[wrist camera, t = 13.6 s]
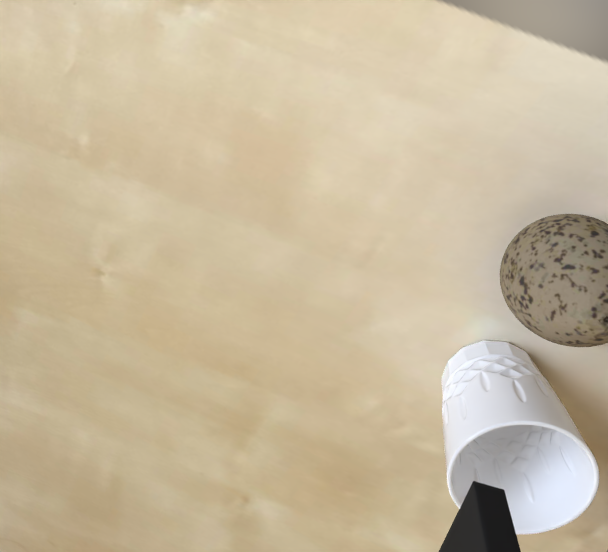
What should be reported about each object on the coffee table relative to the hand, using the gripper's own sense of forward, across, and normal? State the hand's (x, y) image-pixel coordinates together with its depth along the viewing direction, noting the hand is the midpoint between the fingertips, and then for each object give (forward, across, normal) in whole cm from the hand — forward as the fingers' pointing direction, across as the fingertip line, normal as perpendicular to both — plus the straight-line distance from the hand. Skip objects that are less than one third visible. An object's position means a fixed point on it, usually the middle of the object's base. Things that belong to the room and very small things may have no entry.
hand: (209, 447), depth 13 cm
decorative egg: (+24, +15, +1) cm, 28 cm away
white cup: (+23, +15, -9) cm, 29 cm away
